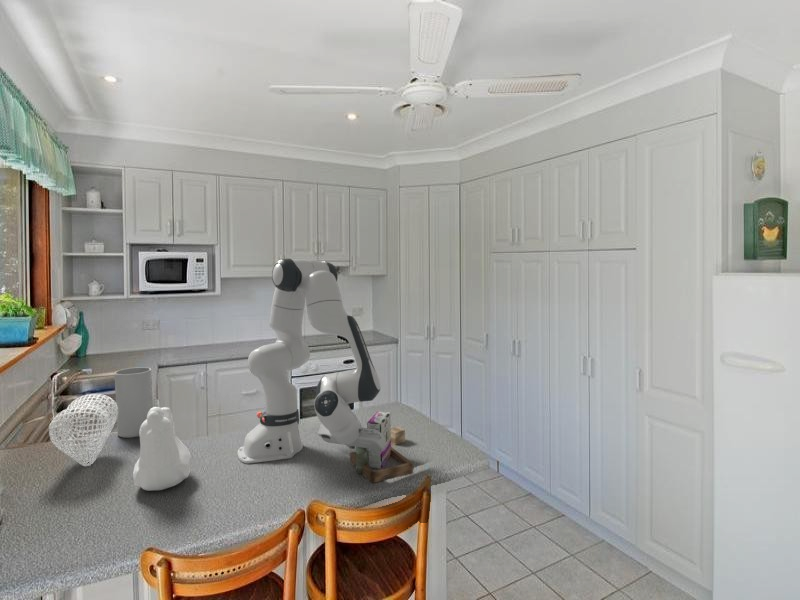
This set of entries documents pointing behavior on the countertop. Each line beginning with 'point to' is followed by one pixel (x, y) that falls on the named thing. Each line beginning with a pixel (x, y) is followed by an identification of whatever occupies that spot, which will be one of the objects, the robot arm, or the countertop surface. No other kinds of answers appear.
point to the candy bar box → (383, 426)
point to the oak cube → (397, 435)
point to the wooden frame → (361, 464)
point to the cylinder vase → (132, 399)
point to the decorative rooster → (160, 453)
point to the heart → (102, 437)
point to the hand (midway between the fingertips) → (360, 447)
